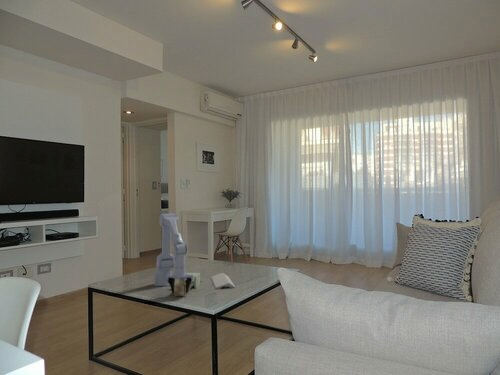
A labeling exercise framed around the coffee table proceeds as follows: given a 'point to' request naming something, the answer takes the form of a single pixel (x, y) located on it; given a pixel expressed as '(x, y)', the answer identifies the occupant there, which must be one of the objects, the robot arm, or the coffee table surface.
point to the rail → (190, 287)
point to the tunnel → (196, 279)
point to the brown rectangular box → (180, 289)
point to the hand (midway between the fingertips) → (180, 292)
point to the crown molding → (221, 281)
